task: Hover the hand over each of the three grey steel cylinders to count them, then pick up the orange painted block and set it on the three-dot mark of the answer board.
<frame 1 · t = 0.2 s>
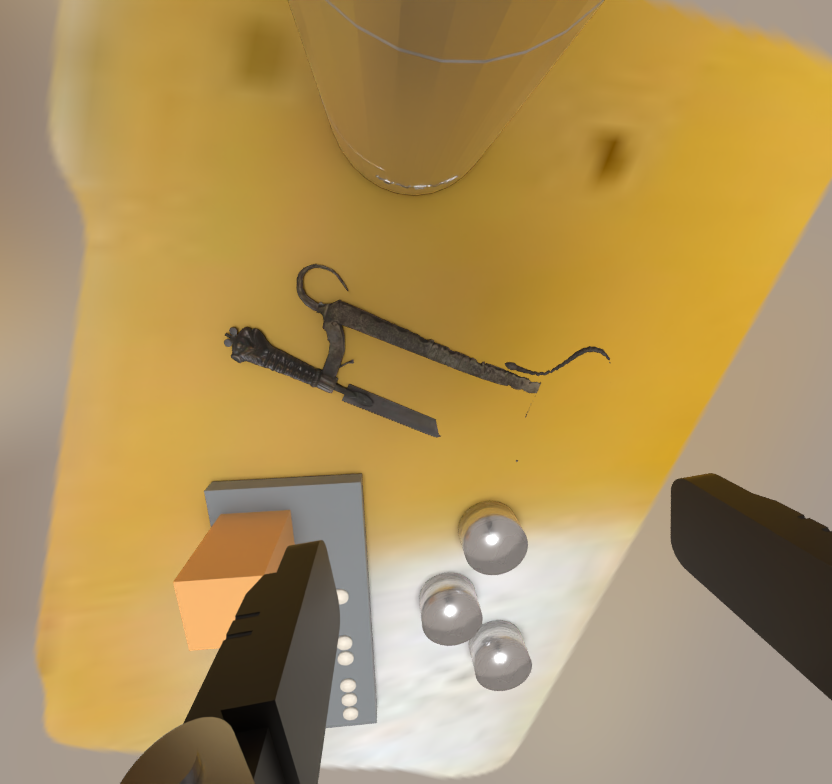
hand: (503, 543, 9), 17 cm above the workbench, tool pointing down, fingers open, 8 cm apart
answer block: (260, 541, 26), point 1 cm above the workbench, touching answer board
steel cylinder b: (447, 594, 31), on the workbench
answer board: (304, 607, 30), on the workbench
steel cylinder a: (487, 526, 29), on the workbench
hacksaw: (431, 354, 26), on the workbench
steel cylinder c: (494, 640, 32), on the workbench
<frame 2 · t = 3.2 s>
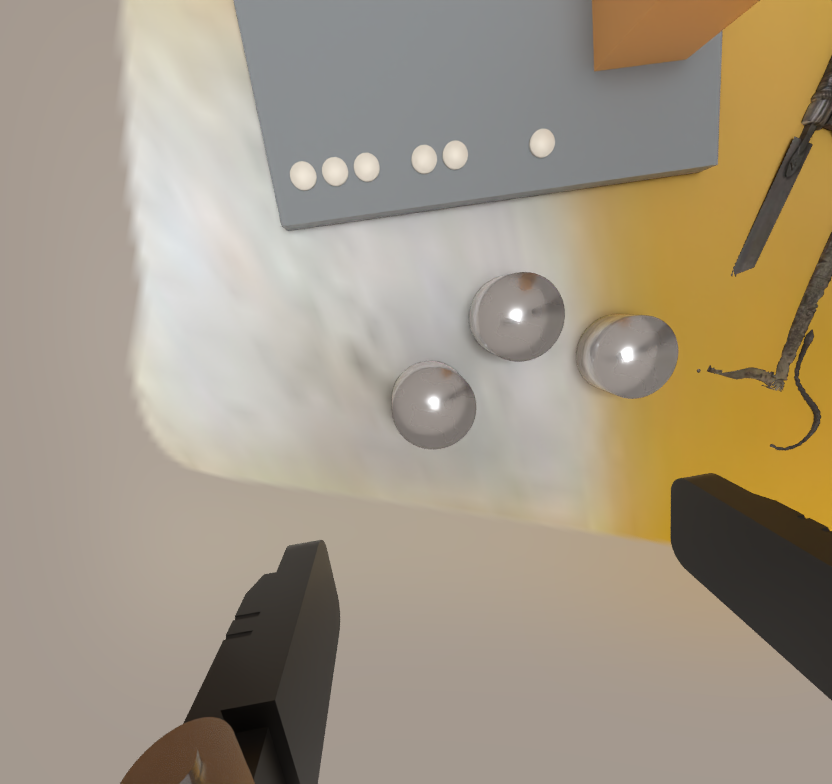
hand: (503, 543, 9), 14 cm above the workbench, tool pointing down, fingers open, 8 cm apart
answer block: (639, 8, 18), point 1 cm above the workbench, touching answer board
steel cylinder b: (507, 316, 22), on the workbench
answer board: (488, 91, 19), on the workbench
steel cylinder a: (611, 352, 23), on the workbench
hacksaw: (816, 247, 23), on the workbench
steel cylinder c: (429, 398, 23), on the workbench
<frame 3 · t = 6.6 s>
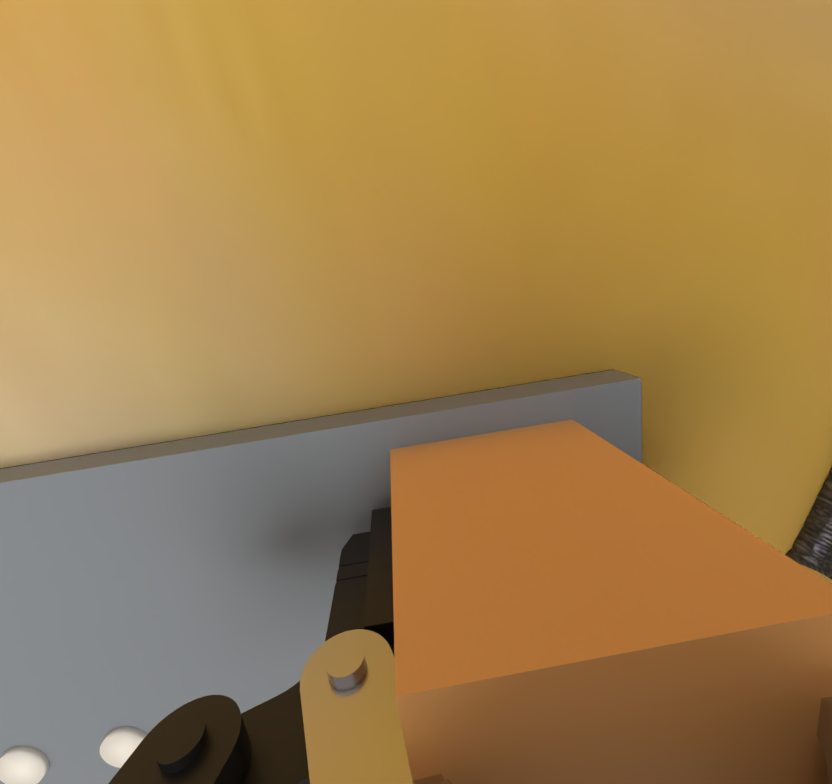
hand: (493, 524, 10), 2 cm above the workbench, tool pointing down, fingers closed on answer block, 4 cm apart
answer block: (491, 516, 10), point 1 cm above the workbench, touching answer board, gripper
answer board: (252, 596, 11), on the workbench
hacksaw: (805, 704, 15), on the workbench
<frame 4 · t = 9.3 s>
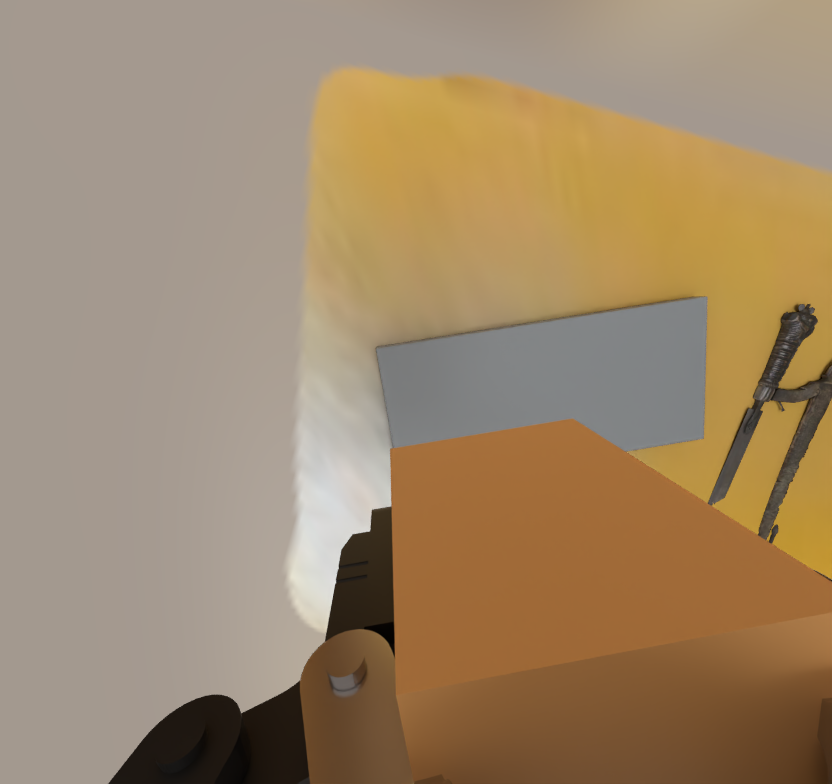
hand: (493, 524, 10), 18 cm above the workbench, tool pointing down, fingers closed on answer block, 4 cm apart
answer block: (491, 515, 10), point 18 cm above the workbench, touching gripper
answer board: (542, 392, 28), on the workbench
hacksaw: (774, 466, 31), on the workbench
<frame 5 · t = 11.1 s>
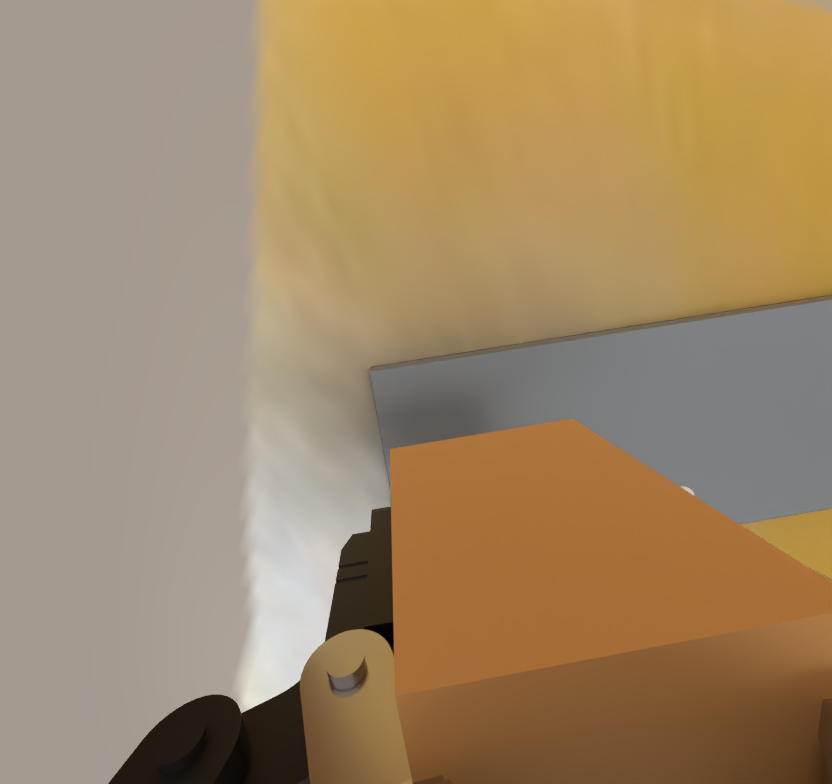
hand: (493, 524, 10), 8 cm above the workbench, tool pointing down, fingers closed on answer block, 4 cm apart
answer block: (491, 516, 10), point 8 cm above the workbench, touching gripper
answer board: (620, 434, 18), on the workbench
when the fingers open (3 cm above the workbench, at t = 12.6 s): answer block drops 1 cm, resting on answer board.
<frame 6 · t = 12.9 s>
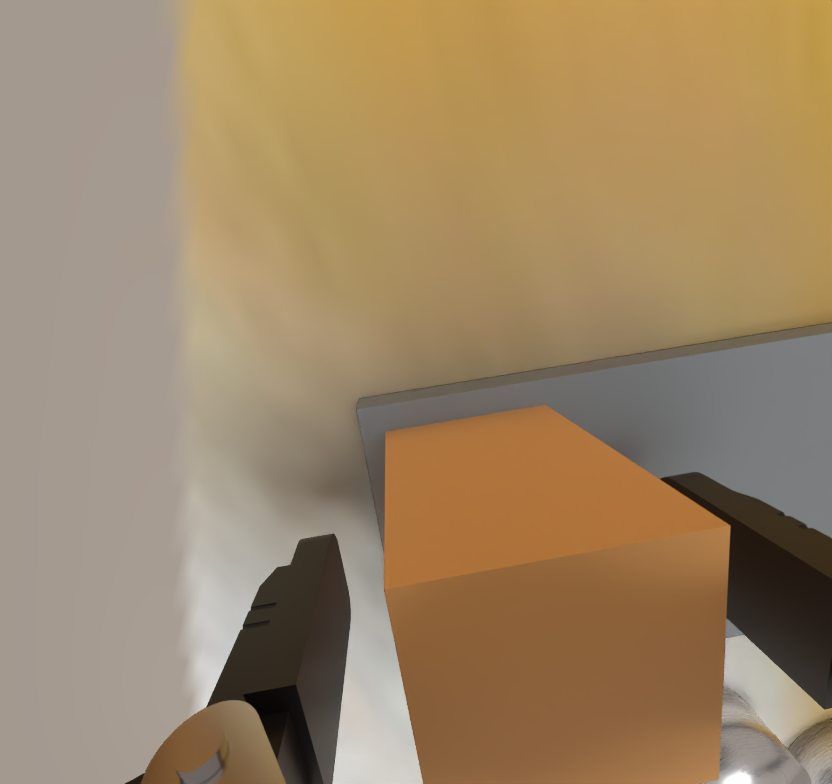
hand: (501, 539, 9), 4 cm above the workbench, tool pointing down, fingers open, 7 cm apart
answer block: (475, 491, 11), point 1 cm above the workbench, touching answer board
steel cylinder b: (696, 728, 16), on the workbench
answer board: (707, 487, 13), on the workbench
steel cylinder a: (827, 753, 17), on the workbench
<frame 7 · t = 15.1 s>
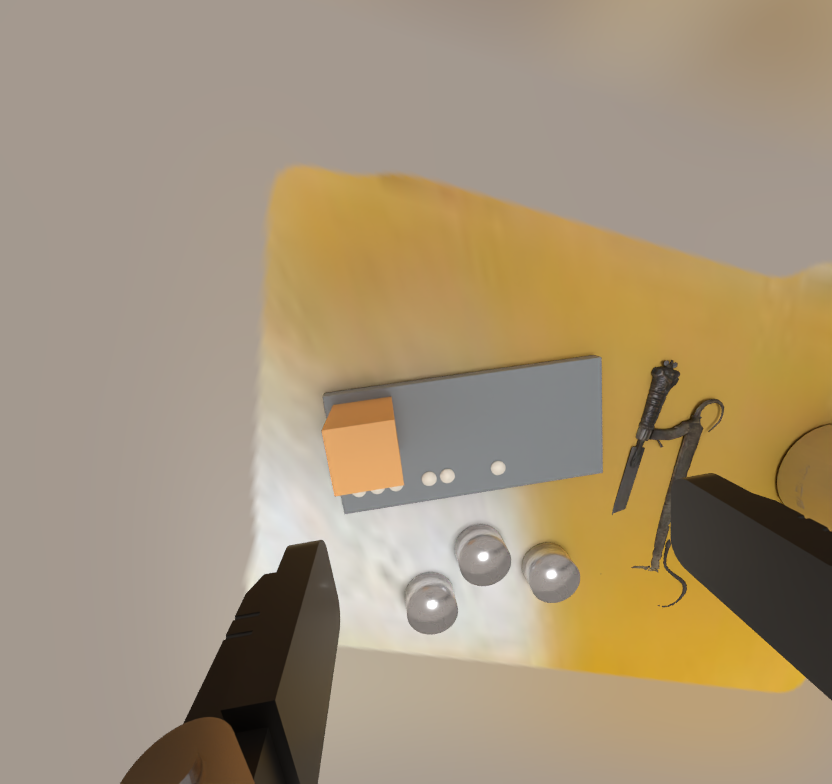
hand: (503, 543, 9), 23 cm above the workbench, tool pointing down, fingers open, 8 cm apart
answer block: (367, 428, 30), point 1 cm above the workbench, touching answer board
steel cylinder b: (478, 545, 35), on the workbench
answer board: (467, 432, 32), on the workbench
steel cylinder a: (544, 562, 36), on the workbench
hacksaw: (663, 491, 36), on the workbench
steel cylinder c: (429, 591, 36), on the workbench
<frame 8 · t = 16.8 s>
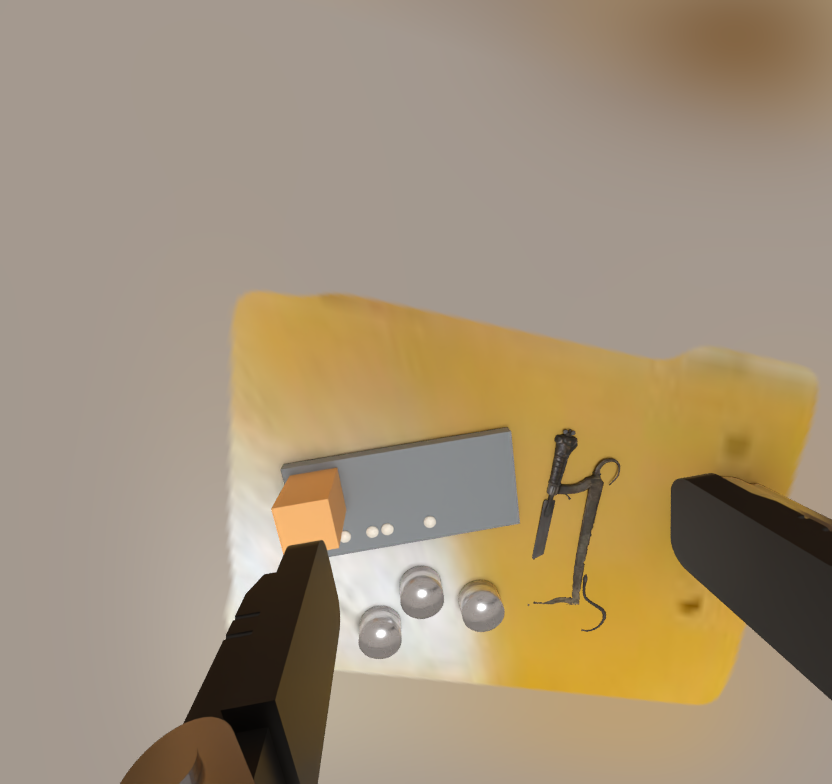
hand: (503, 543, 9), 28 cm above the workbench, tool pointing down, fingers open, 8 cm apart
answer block: (318, 493, 37), point 1 cm above the workbench, touching answer board
steel cylinder b: (420, 583, 42), on the workbench
answer board: (404, 491, 39), on the workbench
steel cylinder a: (478, 596, 43), on the workbench
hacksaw: (578, 534, 43), on the workbench
steel cylinder c: (380, 622, 43), on the workbench
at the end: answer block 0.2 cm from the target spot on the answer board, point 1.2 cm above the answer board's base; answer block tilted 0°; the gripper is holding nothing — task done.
